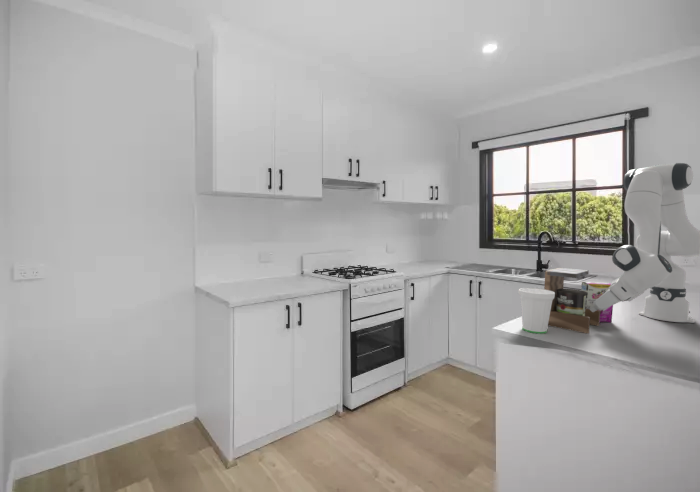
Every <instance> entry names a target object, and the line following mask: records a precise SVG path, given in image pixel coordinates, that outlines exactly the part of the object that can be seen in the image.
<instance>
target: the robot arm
mask: <svg viewBox="0 0 700 492" xmlns="http://www.w3.org/2000/svg"><path fill="white" fill-rule="evenodd" d="M693 179H694V171H693V169H692V166H691V165H690V164H688V163H685V162H684V163H683V162H676V163H665V164H656V165H651V166H647V167H646V166H645V167H642V168H641V167H640V168H634V169H630V170H628V171H627V172H626V173H625V174H624V176H623V182H622V183H623V188H624V190H625V191H626V194H625V195H626V196H625V199H624V213H625V214H626V215H627V217H628V218H629V219H630V221H632V223H633V224H634V225H635V227H636V229H637V231H638V233H639V234H638V235H637V237H636V239H635V245H632V244H624V245H622V246H620V247H618V248H617V249H615V251H614V252H613V254H612V257H611V259H612V263H613V264H614V265H615V267H617V268H618V269H620V270H621V271H622V272H623V274H621V275H620V276H618V277H617V278H615V279H614V280H612V281H611V282H610V284H611V285H610V287H609V289H608V290H607V291H606V292H605V293H604V294H603V295H601V296H600V297H599V298H598V299H597V300H596V301H595V302H594V303H593V304H594V306H593V307H592V308H590V310H591V311H592V312H595V311H597V310H598V309H599V310H600V311H601V310H604V309H606V308H608V307H610V306H612V305H613V306H614V305H616V304H618V303H621V302H622V303H623V302H632V301H633V300H635V299H637V298H638V297H640V296H641V295H643V294H644V293H645V292H646V291H647V290H649V295H646V296H645V298H644V305H643V306H644V307H643V310H642V311H639V312H638V314H639V316H640V315H641V316H644V317H647V318H650V319H654V320H660V321H664V322H665V321H666V322H675V323H694V324H695V322H696V321H695V319H694V318H693V317H692V315H690V314H691V311H690V302H689V301H688V299H686V295H687V289H686V275H687V272H686V270H685V269H684V268H683V267H682V266H680V265H679V264H676V263H674V261H673V260H672V258H671V257H684V258H695V257H697V258H698V257H700V230H699V229H698V228H696V227H695V226H694V225H693V223H692V222H691V221H690V220H689V218H688V216H687V211H686V205H685V196H684V192H683V191H684V189H687V188H688V187H690V185H691V184H692V181H693ZM662 227H663V228H664V229H666V230H662Z"/></svg>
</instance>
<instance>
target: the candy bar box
mask: <svg viewBox="0 0 700 492" xmlns="http://www.w3.org/2000/svg"><path fill="white" fill-rule="evenodd" d="M610 285H611V282H610V283H609V282H599V281H598V282H597V281H596V282H595V281H581V285H580V286H581V288H580V290H581V291H585V292H587V294H586V306H585V309H590V308H592V307H593V306H594V304H593V303H594V302H595V301H596V300H597V299H598V298H599V297H600V296H601V295H603V294H604V293H605V292H606V291H607V290H608V289H609V287H610ZM613 308H614V305H612V306H610V307H608V308H606V309H604V310H601V311H600V310H599V309H598V311H600V321H599V323H613V321H612V319H613Z"/></svg>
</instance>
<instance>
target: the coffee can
mask: <svg viewBox="0 0 700 492" xmlns="http://www.w3.org/2000/svg"><path fill="white" fill-rule="evenodd" d="M586 294H587V292H585V291H581V289H575V288H563V289H557V307H556V311H557V312H563V313H569V314H575V315H581V316H585V306H586Z"/></svg>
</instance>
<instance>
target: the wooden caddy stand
mask: <svg viewBox="0 0 700 492" xmlns="http://www.w3.org/2000/svg"><path fill="white" fill-rule="evenodd" d="M589 273H590V272H589V270H586V269H576V268H565V267H557V268H553V269H548V270H545V272H544V286H543V287H544V290H549V291H553V292H555V298H554V299H553V300H552V305H551V311H550V316H549V321H548V327H549V326H550V327H554V328H559V329H562V330H569V331H573V332H580V333H583V334H584V333H585V334H589V333H590V326H597V327H598V326H600V322H599V321H600V311H598V310H597V311H595V312H592V311H591V310H590V309H585V316H581V315H575V314H569V313H563V312H557V311H556V307H557V289H564V283H565V282H564V281H565V278H570V279H577V278H581V277H584V276H587V275H589Z"/></svg>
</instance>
